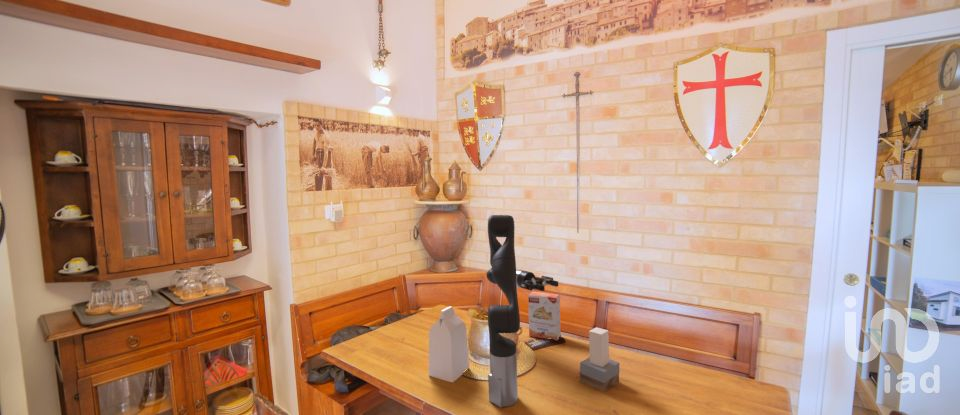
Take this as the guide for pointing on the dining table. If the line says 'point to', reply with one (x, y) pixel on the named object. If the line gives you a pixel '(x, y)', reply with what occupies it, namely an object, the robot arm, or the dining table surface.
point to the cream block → (599, 346)
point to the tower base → (599, 382)
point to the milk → (448, 347)
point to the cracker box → (544, 315)
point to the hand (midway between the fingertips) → (551, 286)
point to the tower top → (599, 370)
